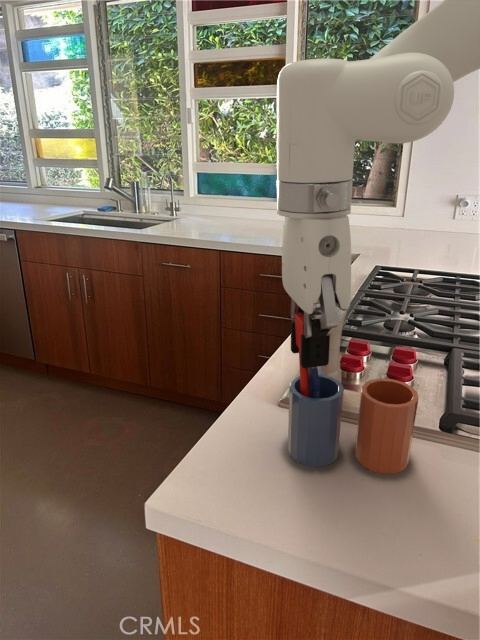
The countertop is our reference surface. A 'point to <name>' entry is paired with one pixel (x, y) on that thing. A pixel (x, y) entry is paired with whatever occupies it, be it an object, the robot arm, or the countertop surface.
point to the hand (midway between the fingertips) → (309, 357)
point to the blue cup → (315, 422)
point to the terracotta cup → (385, 425)
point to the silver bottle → (334, 348)
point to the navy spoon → (314, 381)
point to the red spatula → (303, 371)
